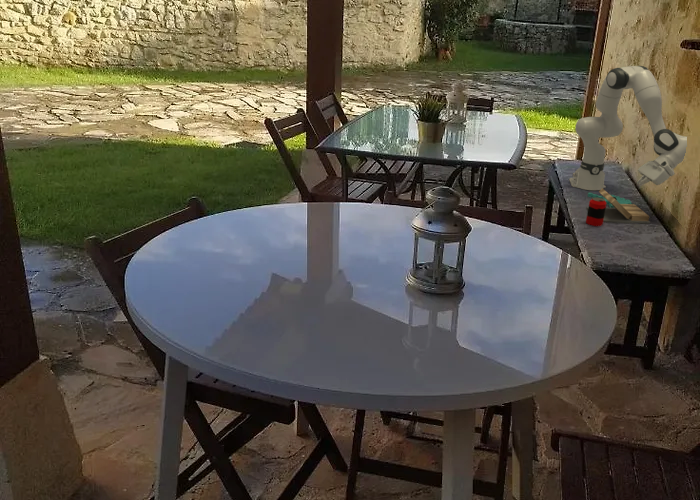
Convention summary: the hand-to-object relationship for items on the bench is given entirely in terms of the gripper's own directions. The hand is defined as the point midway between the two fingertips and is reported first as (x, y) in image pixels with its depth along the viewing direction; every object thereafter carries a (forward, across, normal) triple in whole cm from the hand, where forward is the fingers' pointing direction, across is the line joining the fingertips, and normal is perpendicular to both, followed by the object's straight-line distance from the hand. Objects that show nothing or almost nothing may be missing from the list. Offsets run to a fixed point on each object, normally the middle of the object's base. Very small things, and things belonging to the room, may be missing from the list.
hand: (638, 184), depth 325 cm
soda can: (+28, +12, -4) cm, 31 cm away
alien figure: (+15, -21, +10) cm, 27 cm away
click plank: (+15, 0, +1) cm, 15 cm away
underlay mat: (+17, 0, +6) cm, 18 cm away
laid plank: (+12, 0, +12) cm, 17 cm away
